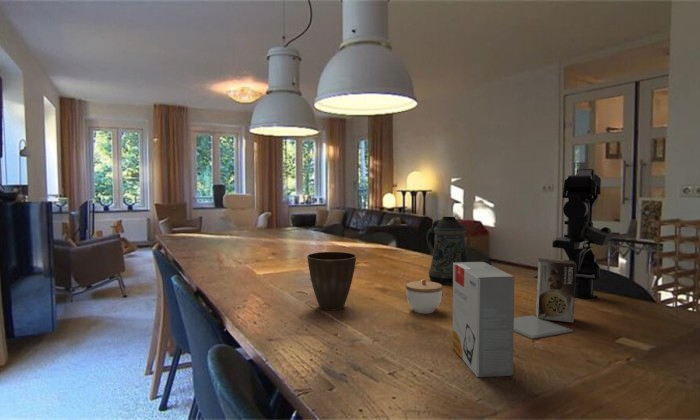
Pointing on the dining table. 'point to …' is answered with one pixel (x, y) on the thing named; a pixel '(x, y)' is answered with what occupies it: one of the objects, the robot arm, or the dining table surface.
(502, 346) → the hard drive box
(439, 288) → the lidded jar
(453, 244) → the beer stein
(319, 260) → the plant pot
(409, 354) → the dining table surface
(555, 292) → the coffee box
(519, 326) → the tile
